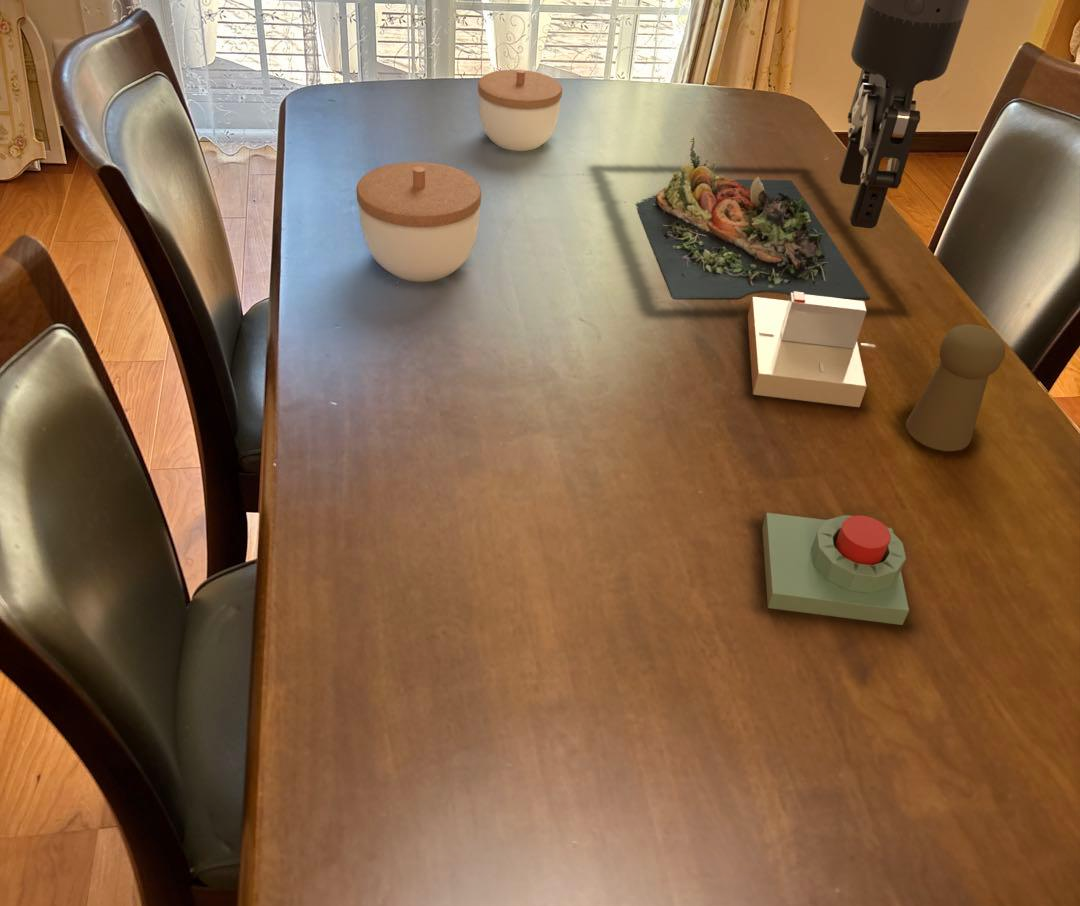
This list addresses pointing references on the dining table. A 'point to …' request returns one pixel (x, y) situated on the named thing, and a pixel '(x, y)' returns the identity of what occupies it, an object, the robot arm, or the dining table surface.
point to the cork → (956, 388)
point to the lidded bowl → (419, 218)
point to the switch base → (800, 362)
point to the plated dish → (741, 239)
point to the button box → (829, 572)
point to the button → (863, 540)
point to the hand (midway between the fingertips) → (855, 203)
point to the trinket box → (519, 108)
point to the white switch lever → (823, 320)
